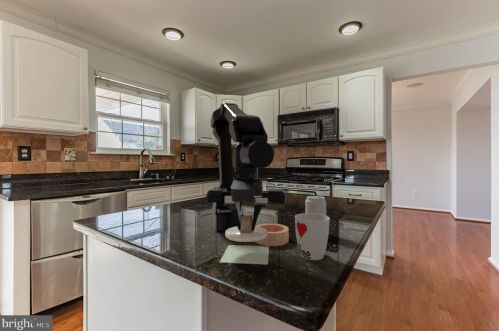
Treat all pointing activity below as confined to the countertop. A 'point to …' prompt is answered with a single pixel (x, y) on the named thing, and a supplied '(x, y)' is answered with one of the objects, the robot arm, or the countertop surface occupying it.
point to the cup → (312, 235)
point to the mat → (246, 254)
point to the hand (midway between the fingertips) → (246, 230)
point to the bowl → (274, 235)
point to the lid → (246, 231)
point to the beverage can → (315, 205)
